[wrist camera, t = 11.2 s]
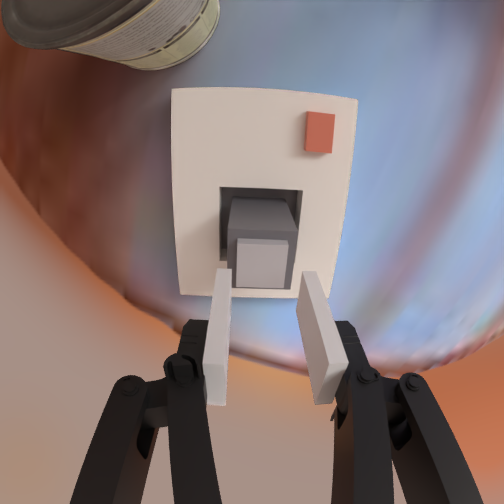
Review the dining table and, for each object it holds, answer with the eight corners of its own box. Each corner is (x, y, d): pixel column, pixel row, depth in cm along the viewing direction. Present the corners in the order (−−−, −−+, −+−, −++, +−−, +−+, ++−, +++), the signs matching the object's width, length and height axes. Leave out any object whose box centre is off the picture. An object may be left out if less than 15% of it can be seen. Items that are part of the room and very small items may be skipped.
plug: (232, 196, 25) (227, 233, 18) (285, 198, 25) (300, 236, 18) (231, 243, 27) (226, 294, 20) (280, 245, 28) (291, 296, 20)
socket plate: (179, 90, 21) (168, 88, 18) (348, 100, 22) (361, 99, 19) (184, 280, 29) (178, 299, 26) (323, 284, 30) (330, 303, 27)
